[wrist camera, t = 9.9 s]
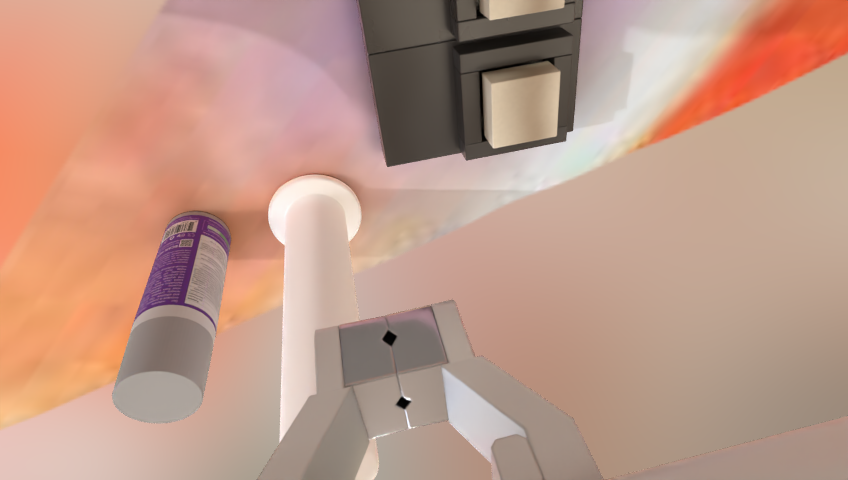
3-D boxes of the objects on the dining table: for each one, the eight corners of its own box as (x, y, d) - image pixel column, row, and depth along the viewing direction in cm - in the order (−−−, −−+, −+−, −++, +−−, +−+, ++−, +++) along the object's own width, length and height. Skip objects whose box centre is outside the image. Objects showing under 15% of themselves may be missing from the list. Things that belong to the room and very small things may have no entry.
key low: (483, 135, 35) (492, 149, 34) (481, 72, 33) (491, 83, 31) (545, 123, 36) (557, 136, 34) (547, 60, 33) (561, 70, 31)
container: (162, 255, 40) (108, 423, 28) (167, 205, 38) (110, 366, 26) (226, 264, 42) (200, 426, 30) (235, 217, 39) (210, 372, 27)
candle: (316, 155, 38) (339, 487, 18) (379, 213, 42) (453, 535, 22) (248, 213, 39) (201, 573, 20) (314, 263, 43) (331, 603, 24)
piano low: (382, 153, 39) (390, 180, 35) (363, 44, 34) (371, 64, 30) (561, 119, 40) (584, 142, 37) (568, 9, 35) (595, 25, 32)
